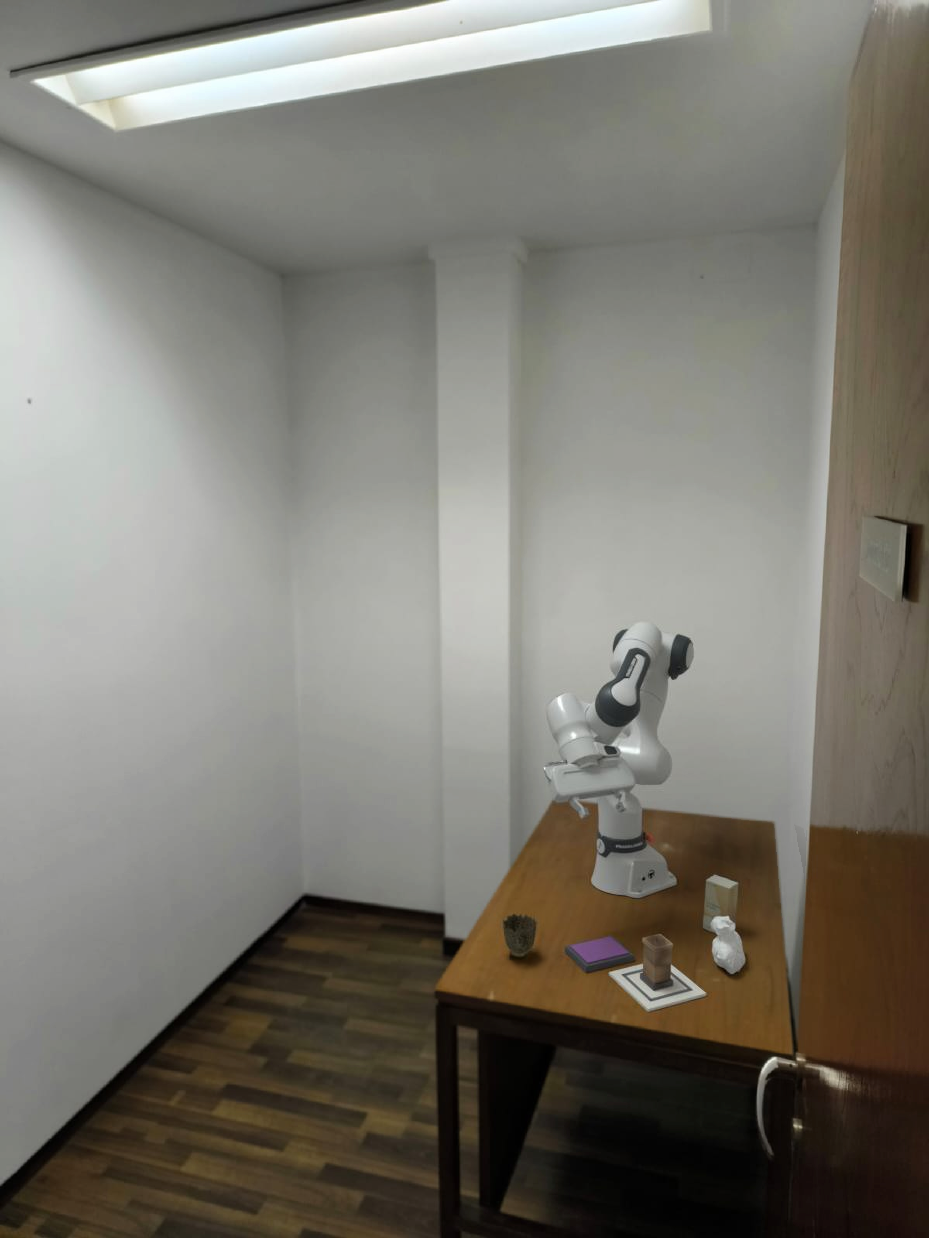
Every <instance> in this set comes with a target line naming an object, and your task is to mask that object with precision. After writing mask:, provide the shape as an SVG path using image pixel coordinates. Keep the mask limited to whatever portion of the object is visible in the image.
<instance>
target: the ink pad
mask: <svg viewBox="0 0 929 1238" xmlns="http://www.w3.org/2000/svg"><path fill="white" fill-rule="evenodd" d="M564 953H565V954H566V955H567V956H568V957H569V958H570V959H572V961H573V962H575V963H576V965H578V967H579V968H580V969H581V970H583V972H585V973H587V974H588V973H591V972H595V971H599V970H603V969H607V968H611V967H615V966H620V965H623V964H628V963H631V962H635V954H634V953H632V952H631V951H630V949H628V948H626V947H625V946H624V944H622V943H621V942H620V941H618V940H617V939H616V938H615V937H614V936H613V935H606V936H604V937H599V938H598V937H597V938H594V939H590V940H586V941H581V942H577V943H573V944H567V945H564Z"/></svg>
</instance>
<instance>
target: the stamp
mask: <svg viewBox="0 0 929 1238" xmlns="http://www.w3.org/2000/svg"><path fill="white" fill-rule="evenodd" d="M641 939H642V940H641V942H642V943H643V950H642V951H643V952H642V953H643V954H642V956H643V957H642V964H643V973H640V979H641V980H642V981H643V982H644V983H645V984H646V985H647V986H648V987H650V988H651V989H652V990H653V991H656V990H660V989H663V988H667V987H671V986H673V980H672V979H671V965H672V951H673V950H672V949H673V948H674V943H672V942H671V940H669V939H667V938H666V937H665V936H663V935H662V934H661V933H659V934H655V935H650V936H646V937H642V938H641Z"/></svg>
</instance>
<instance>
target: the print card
mask: <svg viewBox="0 0 929 1238" xmlns="http://www.w3.org/2000/svg"><path fill="white" fill-rule="evenodd" d="M640 973H643V963H641V964H636V965H632V966H628V967H625V968H620V969H616V970H613V971H609V972H608V976H609V977H610V978H612V979H613V981H614V982H616V984H618V985H619V986H620V987H621V988H622V989H623V990H624V991H625V992H626V993H627V994H628V995H629V996H630V997H631V998H632V999H633V1000H635V1001H636V1002H637V1003H638V1004H639V1005H640V1006H641V1007H642V1008H643V1009H644V1010H645V1011H646V1012H647V1013H650V1012H653V1011H656V1010H660V1009H664V1008H667V1007H671V1006H674V1005H678V1004H682V1003H687V1002H690V1001H693V1000H697V999H699V998H700V999H701V998H704V997H707V992H705V991H704V990H703V989H702V988H700V987H699V986H698V985H697V984H696V983H694V982H693V981H692V980H691V979H690V978H688V977H687V976H686V975H685V974H684V973H683V972H681V971H680V970H678V969H677V967H675V966H674V965H672V964H671V979H672V980H673V986H671V987H667V988H663V989H660V990H656V991H653V990H652V989H651V988H650V987H648V986H647V985H646V984H645V983H644V982H643V981H642V980H641V979H640Z"/></svg>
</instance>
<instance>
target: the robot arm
mask: <svg viewBox="0 0 929 1238" xmlns="http://www.w3.org/2000/svg"><path fill="white" fill-rule="evenodd" d="M693 643H694V642H693V641H692V639H691V638H690V637H688V636H686V635H683V634H680V633H678V634H674V633H671V632H666V631H662V630H660V628H659V627H658V626H657V625H655V624H653V623H652V622H649V621H638V622H635V623H634V624H632V625H631V626H630V627H629V628H626V629H621V630H620V631H618V632H617V633H616V635H615V636H614V639H613V643H612V655H611V659H610V665H609V667H610V668H609V669H610V671H611V672H612V674H613V675H614V678H613V679H612V680H610V681H608V682H606V683H605V684H604V685H602V687H601V688H600V689H599V691H598V693H597V694H596V697H595V698H594V699H593V701H592V702H591V703H590V702H586V701H583V700H581V699H580V698H578V697H576V695H574V694H573V693H572V692H563V693H561V694H559V695H556V697H554V698H553V699H551V701H549V703H548V705H547V707H546V709H545V711H546V712H545V714H546V721H547V724H548V726H549V730H550V733H551V735H552V738H553V740H554V741H555V742H556V745H557V748H558V749H557V750H558V753H559V756H560V759H561V760H558V761H550V762H549V761H548V763H547V764H546V765H545V766H544V767H543V771H544V772H543V773H544V775H545V778H546V779H547V783H548V788H549V792H550V795H551V799H552V800H553V801H554V802H555V803H557V804H559V803H560V804H562V803H567V802H569V804H570V807H572V808H573V809H574V810H575V811H576V812H578V815H579V818H580V819H586V818H588V817H589V816H590V812H589V809H588V806H587V807H586V806H585V807H584V806H583V805H582V804H581V802H580V800H586V799H592V798H593V799H595V798H596V801H597V810H598V828H597V829H596V843H595V844H596V860H595V863H594V864H595V865H594V867H593V868H594V869H593V873H592V876H591V880H590V882H591V884H592V886H593V887H595V888H596V889H597V890H600V891H602V892H605V893H609V894H613V895H617V896H618V895H620V896H626V897H627V896H628V897H630V898H635V899H641V898H643V897H647V896H649V895H652V894H655V893H657V892H660V891H662V890H665V889H668V888H671V887H674V886H677V884H678V883H677V882H678V881H677V878H676V877H675V875H674V874H673V873H672V872H671V871H670V870H669V869H668V863H667V860H666V859H665V857H664V856H663V854H661V853H660V852H658V851H657V850H656V849H654V847H652V846H650V844H648V843H647V842H649V843H653V842H655V840H656V838H655V837H656V836H654V834H651V833H650V832H647V833H646V831H645V830H642V827H643V826H642V825H643V823H642V822H643V807H642V803H641V801H640V800H639V798H638V797H637V796H636V795H634V793H632V792H631V791H632V790H633V789H634V788H635V786H636V785H641V786H658V785H659V786H660V785H661V786H662V785H663V784H664V783H665V782H667V780H668V778H670V777H671V776H670V775H671V773H672V769H673V760H672V756H671V754H670V752H669V750H668V749H667V748H666V747H665V746H664V745H663V744H662V743H661V742H660V739H659V738H658V737H659V736H658V728H659V724H660V720H661V717H662V714H663V712H664V708H665V707H666V701H667V699H668V698H667V697H668V691H669V678H670V679H671V680H672V681H674V680H675V681H676V680H677V679H678V677H679V676H681V675H683V674H685V673H686V672H687V671H688V670H689V669H690V667H691V665H692V663H693V660H694V657H695V656H694V655H695V650H694V644H693ZM622 733H623V734H624V735H625V736H626V737H625V738H624V737H620V736H621V734H622Z"/></svg>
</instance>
